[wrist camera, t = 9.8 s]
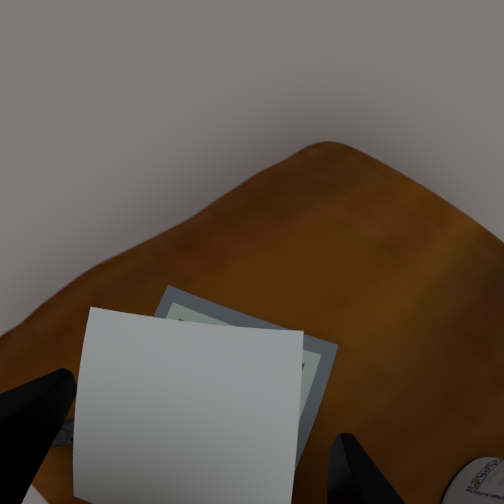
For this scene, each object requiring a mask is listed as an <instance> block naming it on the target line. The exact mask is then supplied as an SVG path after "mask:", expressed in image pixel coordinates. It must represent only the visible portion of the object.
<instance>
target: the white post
mask: <svg viewBox="0 0 504 504" xmlns="http://www.w3.org/2000/svg"><path fill="white" fill-rule="evenodd" d="M302 356H303V331H292V330H275V329H260V328H247V327H236V326H225V325H215V324H205V323H196V322H187V321H179V320H171V319H164V318H156V317H149V316H142V315H136V314H129V313H123V312H117V311H111V310H105V309H100V308H94V307H91V308H90V313H89V318H88V323H87V328H86V333H85V339H84V344H83V350H82V357H81V364H80V371H79V378H78V387H77V396H76V407H75V420H74V440H73V486H74V496H76V497H78V498H80V499H83V500H85V501H88V502H90V503H93V504H291V498H292V489H293V480H294V471H295V460H296V449H297V438H298V425H299V411H300V396H301V378H302Z"/></svg>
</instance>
